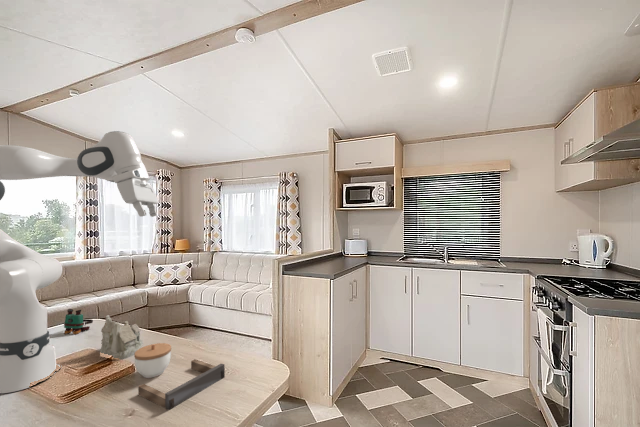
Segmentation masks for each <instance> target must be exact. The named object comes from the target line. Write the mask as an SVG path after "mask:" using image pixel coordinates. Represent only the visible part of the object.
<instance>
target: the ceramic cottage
mask: <svg viewBox="0 0 640 427" xmlns="http://www.w3.org/2000/svg"><path fill="white" fill-rule="evenodd" d="M104 322H105V323H104V325H103V326H102V328H101V331H100V332H101V336H102V339H101V344H100V345H101V347H100V350H99V353H100V352H101V353H104V354H108V355H112V356H113V357H114V358H119V359H122V360H125V359H128V358H131V357H133V356H134V353H135V352H136V351H137V350H138V349H140V348H142V347H143V344H144V341H143V340H142V339H141V333H140V332H141V328H140V327H139V326H138V324H137V323H134V324H132V325H130V324H129V321H128V320H126V321H124V324H121V323H120V322H116V321H115V320H114V321H113V320H112V318H111V317H110V315H105V321H104Z"/></svg>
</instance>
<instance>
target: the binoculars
mask: <svg viewBox="0 0 640 427" xmlns="http://www.w3.org/2000/svg"><path fill="white" fill-rule="evenodd" d="M66 311H67V314H65V317H64V324H63V327H64V329H65V330H64V332H63V333H64V334H65V335H66V334H71V333H72V335H79V334H80V333H81V331H86V330H90V328H91V327H90V325H89V324H93V322H94V320H93V319H86V318H85V319H84V314H83V313H82V309H77V310H75V313H73V312H74V309H72V308H68V309H67V310H66ZM86 325H89V326H86Z"/></svg>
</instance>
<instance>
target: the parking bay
mask: <svg viewBox="0 0 640 427" xmlns="http://www.w3.org/2000/svg"><path fill="white" fill-rule="evenodd" d="M190 367H191V370H194V371H197V372H200V373H201V374H199V375H197V376H195V377H193V378H191V379H190V380H189V379H188V381H186V382H184V383H182V384H180V385H178V386H177V387H175V388H173V389H171V390H169V391H166V392H162V391H160V390H159V389H156V388H154V387H151V386H149V385H148V384H145V383H142V384H140V385H138V386H137V388H138V392H137V393H138V396H140V397H142V398H144V399H146V400H148V401H150V402H151V403H153V404H156V405H158V406H159V407H162V408H163V409H166V410H168V411H171V409H173V408H175V407H177V406H179V405H180V404H182V403H183V402H185V401H187V400H188V399H190V398H192V397H193V396H195V395H197V394H199V393H201V392H202V391H204V390H205V389H208V388H209V387H211V386H212V385H213V384H215V383H217V382H218V381H220V380H222V379H224V378H225V377H226V376H225V368H226V367H225V364H224V363H219V364H218V365H213V364H210V363H207V362H204V361H201V360H199V359H195V358H194V359H193V360H191V361H190Z"/></svg>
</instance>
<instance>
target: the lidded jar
mask: <svg viewBox="0 0 640 427" xmlns="http://www.w3.org/2000/svg"><path fill="white" fill-rule="evenodd" d="M133 356H134V363H135V364H134V365H135V369H136V371H137V373H138V374H140V375H141V376H142V377H143V378H145V379H150V378H151V379H152V378H156V377H158V376H160V375H162V374H164V372H165V370H166V369H167V368H168V367H169V364H170V363H171V362H170V361H171V358H172V345H171V344H170V343H165V342H158V343H153V344H151V343H150V344H149V345H145V346H141V348H140V349H138V350H137V351H136V352H135V353H134V355H133Z"/></svg>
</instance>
